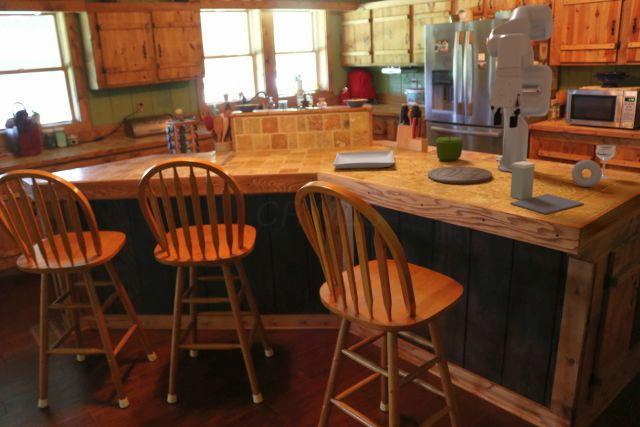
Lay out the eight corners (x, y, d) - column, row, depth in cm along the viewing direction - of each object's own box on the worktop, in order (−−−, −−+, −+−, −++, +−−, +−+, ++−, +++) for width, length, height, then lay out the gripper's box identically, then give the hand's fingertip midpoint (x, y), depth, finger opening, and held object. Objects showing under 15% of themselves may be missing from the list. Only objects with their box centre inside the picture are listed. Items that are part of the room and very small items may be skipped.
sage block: (510, 197, 184) (512, 163, 181) (520, 194, 186) (522, 161, 183) (521, 200, 180) (524, 165, 176) (532, 197, 182) (534, 163, 179)
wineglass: (607, 180, 199) (610, 148, 196) (589, 177, 205) (592, 146, 201) (616, 177, 203) (619, 146, 199) (598, 174, 208) (601, 143, 205)
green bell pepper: (457, 163, 237) (458, 138, 234) (431, 161, 243) (431, 137, 240) (465, 158, 247) (466, 134, 244) (440, 156, 253) (441, 132, 250)
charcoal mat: (510, 204, 176) (510, 202, 176) (547, 195, 184) (547, 193, 184) (545, 214, 164) (545, 213, 164) (583, 204, 172) (583, 203, 172)
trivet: (498, 173, 219) (498, 168, 218) (482, 187, 198) (483, 183, 198) (439, 168, 231) (439, 164, 231) (419, 182, 211) (419, 177, 210)
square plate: (392, 157, 258) (392, 149, 257) (394, 170, 232) (394, 161, 231) (337, 159, 261) (337, 151, 260) (333, 171, 235) (332, 163, 234)
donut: (601, 187, 190) (604, 160, 187) (598, 189, 188) (601, 162, 185) (572, 184, 197) (574, 157, 194) (568, 186, 194) (571, 159, 191)
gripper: (481, 73, 184) (478, 125, 189) (520, 74, 169) (517, 130, 175) (497, 71, 187) (494, 122, 193) (537, 72, 173) (533, 128, 178)
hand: (505, 125), depth 184 cm, fingers open, 6 cm apart
